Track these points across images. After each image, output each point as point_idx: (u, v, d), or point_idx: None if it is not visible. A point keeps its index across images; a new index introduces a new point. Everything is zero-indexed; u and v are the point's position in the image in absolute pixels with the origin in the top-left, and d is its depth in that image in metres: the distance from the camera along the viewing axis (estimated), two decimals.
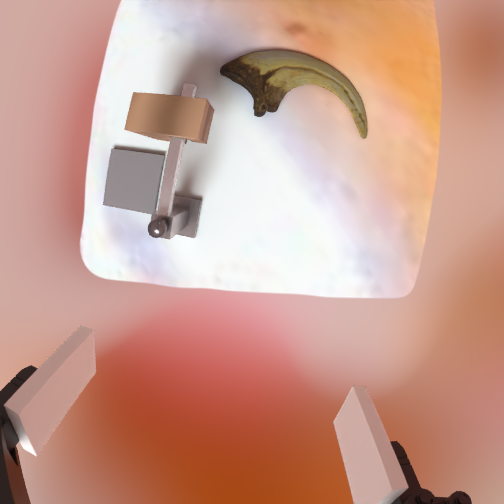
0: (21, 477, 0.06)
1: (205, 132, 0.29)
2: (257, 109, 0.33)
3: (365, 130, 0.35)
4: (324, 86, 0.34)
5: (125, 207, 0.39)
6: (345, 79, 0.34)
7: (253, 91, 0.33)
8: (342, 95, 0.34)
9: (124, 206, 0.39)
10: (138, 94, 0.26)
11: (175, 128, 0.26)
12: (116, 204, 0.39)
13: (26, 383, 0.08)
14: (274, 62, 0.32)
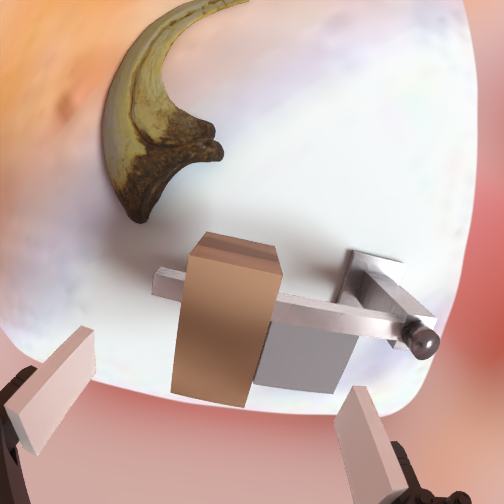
0: (21, 477, 0.06)
1: (257, 251, 0.16)
2: (212, 153, 0.19)
3: None
4: (164, 53, 0.19)
5: (344, 364, 0.26)
6: (150, 27, 0.18)
7: (177, 163, 0.19)
8: (179, 26, 0.18)
9: (342, 366, 0.26)
10: (175, 384, 0.14)
11: (254, 321, 0.13)
12: (337, 376, 0.26)
13: (26, 383, 0.08)
14: (123, 133, 0.19)
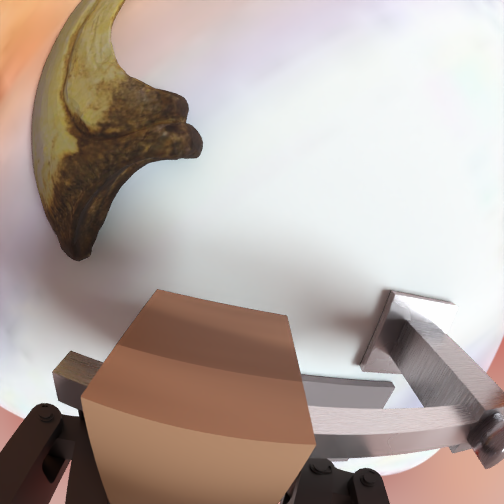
0: None
1: (254, 344, 0.07)
2: (180, 144, 0.11)
3: None
4: (117, 4, 0.10)
5: None
6: None
7: (122, 163, 0.11)
8: None
9: None
10: None
11: (248, 501, 0.05)
12: None
13: None
14: (50, 122, 0.11)
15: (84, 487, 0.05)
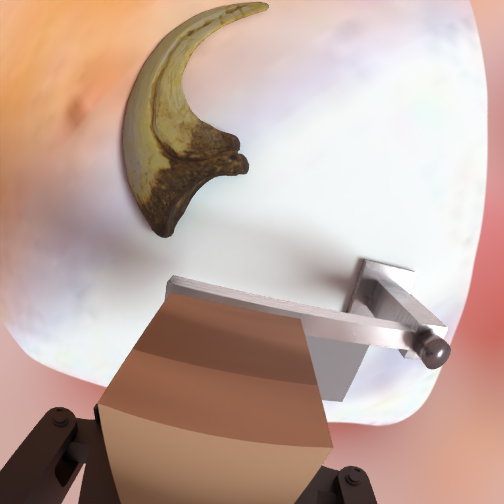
0: None
1: (269, 347, 0.07)
2: (238, 167, 0.19)
3: (254, 3, 0.18)
4: (184, 64, 0.19)
5: (354, 373, 0.25)
6: (168, 37, 0.19)
7: (203, 177, 0.19)
8: (197, 37, 0.19)
9: (352, 374, 0.25)
10: None
11: None
12: (346, 384, 0.26)
13: None
14: (145, 146, 0.20)
15: (98, 490, 0.05)
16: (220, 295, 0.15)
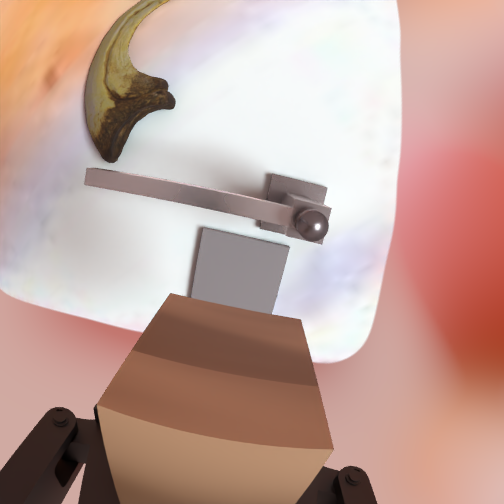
0: None
1: (269, 348, 0.07)
2: (163, 98, 0.22)
3: None
4: (130, 35, 0.22)
5: (275, 290, 0.28)
6: (120, 17, 0.22)
7: (137, 109, 0.22)
8: (141, 14, 0.21)
9: (274, 292, 0.29)
10: None
11: None
12: (270, 304, 0.29)
13: None
14: (98, 95, 0.23)
15: (98, 490, 0.05)
16: (121, 173, 0.18)
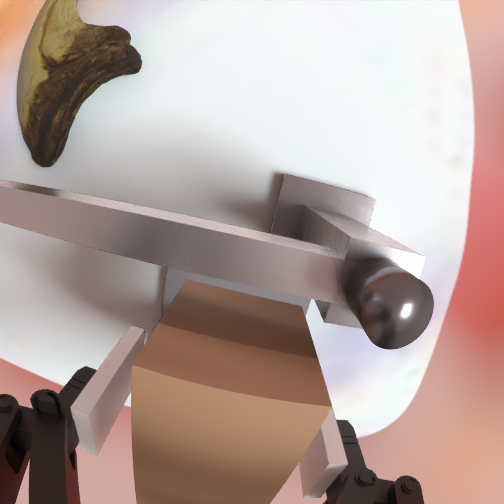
0: (76, 482, 0.07)
1: (275, 327, 0.08)
2: (117, 52, 0.11)
3: None
4: None
5: None
6: None
7: (77, 74, 0.11)
8: None
9: None
10: None
11: (268, 466, 0.06)
12: None
13: (89, 384, 0.09)
14: (30, 66, 0.12)
15: (44, 480, 0.05)
16: None
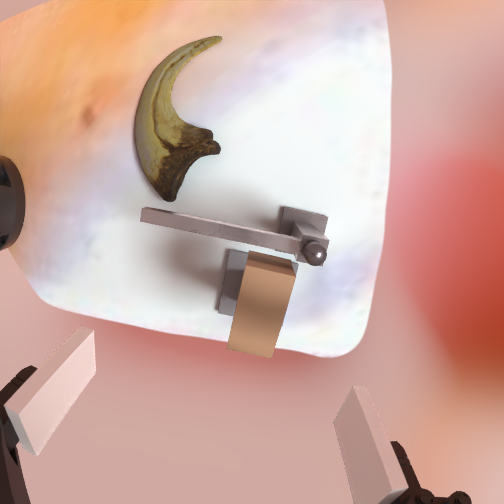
0: (21, 477, 0.06)
1: (281, 263, 0.27)
2: (212, 148, 0.30)
3: (212, 38, 0.28)
4: (170, 87, 0.30)
5: None
6: (157, 69, 0.30)
7: (191, 157, 0.30)
8: (177, 67, 0.29)
9: None
10: (230, 343, 0.25)
11: (280, 302, 0.24)
12: None
13: (26, 383, 0.08)
14: (152, 143, 0.30)
15: None
16: (171, 213, 0.26)
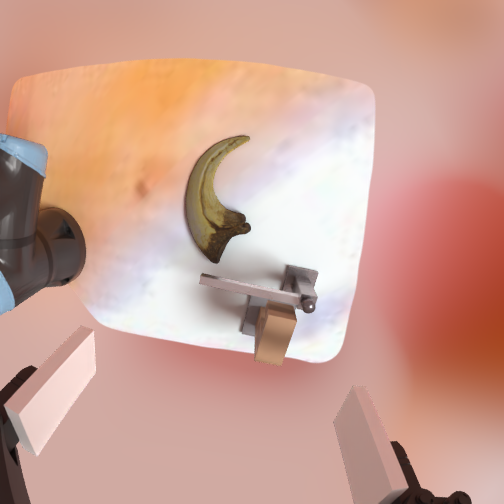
0: (21, 477, 0.06)
1: (287, 309, 0.43)
2: (246, 230, 0.46)
3: (242, 137, 0.44)
4: (212, 178, 0.46)
5: None
6: (200, 161, 0.45)
7: (232, 236, 0.46)
8: (216, 162, 0.45)
9: None
10: (256, 357, 0.42)
11: (287, 334, 0.41)
12: None
13: (26, 383, 0.08)
14: (201, 223, 0.47)
15: None
16: (220, 280, 0.42)
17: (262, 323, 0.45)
